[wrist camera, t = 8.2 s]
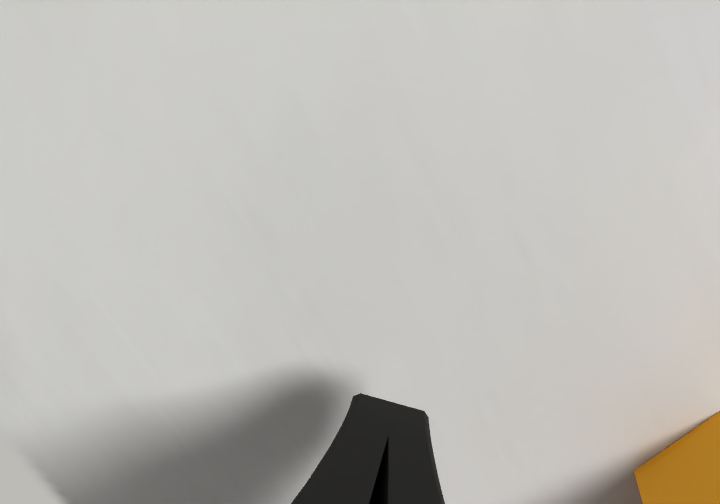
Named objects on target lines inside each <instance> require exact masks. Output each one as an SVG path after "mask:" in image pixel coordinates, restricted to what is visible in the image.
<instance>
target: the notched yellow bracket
mask: <svg viewBox="0 0 720 504" xmlns="http://www.w3.org/2000/svg"><path fill="white" fill-rule="evenodd" d="M634 474H635V478H636V481H637V485H638V488H639V492H640V496H641V499H642V503H643V504H720V411H719V412H718V413H716V414H715V415H713V416H712V417H711V418H709V419H708V420H706V421H705V422H703V423H702V424H700V425H699V426H698V427H696V428H695V429H693V430H692V431H690V432H689V433H687V434H686V435H685V436H683V437H682V438H680V439H679V440H677V441H676V442H674V443H673V444H672V445H670V446H669V447H667V448H666V449H664V450H663V451H661V452H660V453H659V454H657V455H656V456H654V457H653V458H651V459H650V460H649V461H647V462H646V463H644V464H643V465H641V466H640V467H638V468H637V469H636V470H634Z"/></svg>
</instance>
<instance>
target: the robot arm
mask: <svg viewBox="0 0 720 504" xmlns="http://www.w3.org/2000/svg"><path fill="white" fill-rule="evenodd" d="M291 504H445V502H444V499H443V495H442V491H441V487H440V483H439V478H438V474H437V469H436V464H435V460H434V454H433V449H432V443H431V437H430V429H429V420H428V416H427V415H426V413H425V412H424V411H422V410H418V409H415V408H411V407H407V406H404V405H400V404H397V403H393V402H389V401H386V400H382V399H379V398H375V397H371V396H368V395H364V394H361V393H360V394H358V395H355V396H353V399H352V402H351V405H350V408H349V410H348V413H347V415H346V417H345V420H344V422H343V424H342V426H341V428H340V430H339V432H338V433H337V435H336V437H335V439H334V440H333V442H332V444H331V446H330V447H329V449H328V451H327V452H326V454H325V455H324V457H323V458H322V460H321V462H320V463H319V465H318V466H317V468H316V469H315V471H314V472H313V474H312V475H311V477H310V478H309V480H308V481H307V483H306V484H305V486H304V487H303V488H302V490H301V491H300V492H299V494H298V495H297V496H296V498H295V499H294V500H293V502H292V503H291Z"/></svg>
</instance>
